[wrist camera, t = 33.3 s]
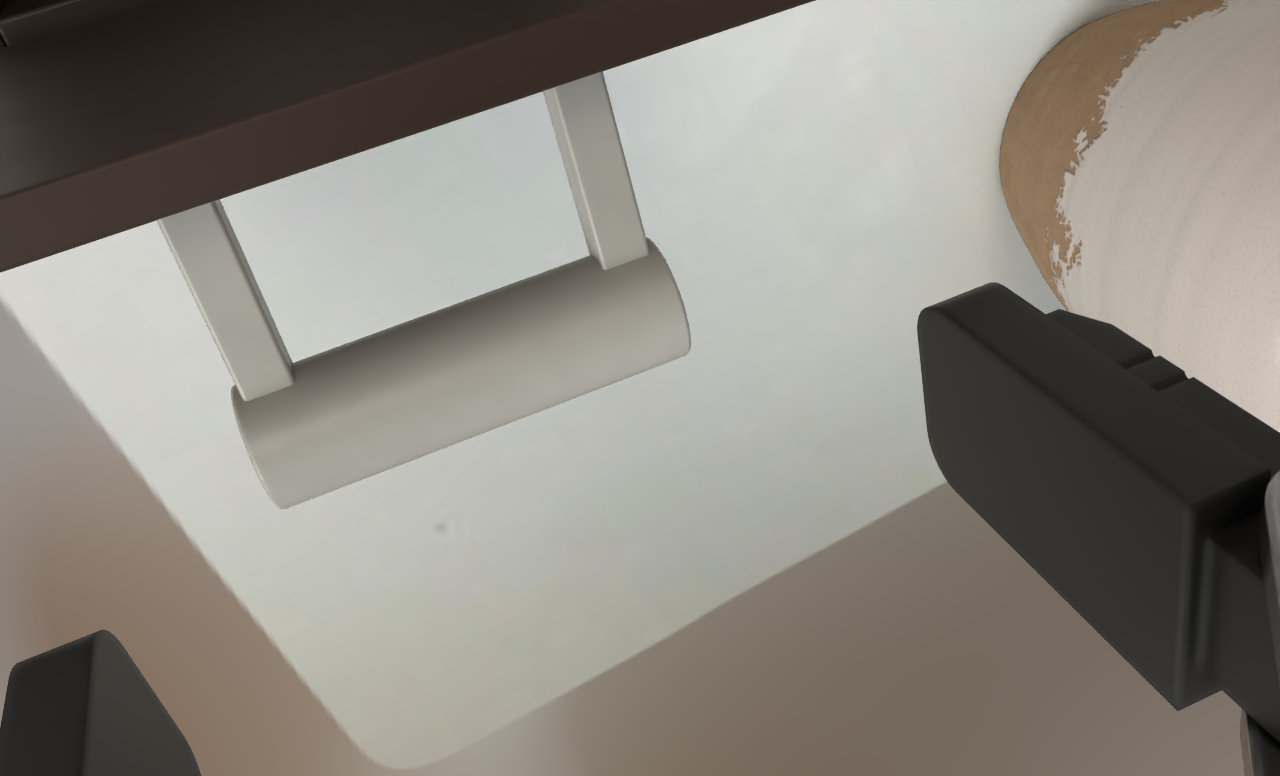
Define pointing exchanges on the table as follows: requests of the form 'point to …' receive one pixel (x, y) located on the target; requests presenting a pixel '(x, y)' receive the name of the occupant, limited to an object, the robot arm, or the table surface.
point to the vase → (1162, 185)
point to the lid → (328, 131)
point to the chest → (53, 16)
